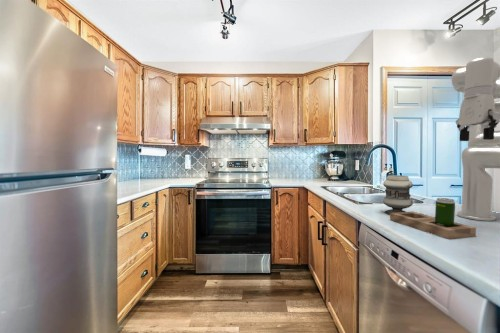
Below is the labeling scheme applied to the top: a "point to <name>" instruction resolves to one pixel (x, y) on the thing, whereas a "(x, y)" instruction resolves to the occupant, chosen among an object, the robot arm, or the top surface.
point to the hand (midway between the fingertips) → (475, 140)
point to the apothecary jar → (397, 193)
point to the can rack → (432, 225)
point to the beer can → (445, 212)
